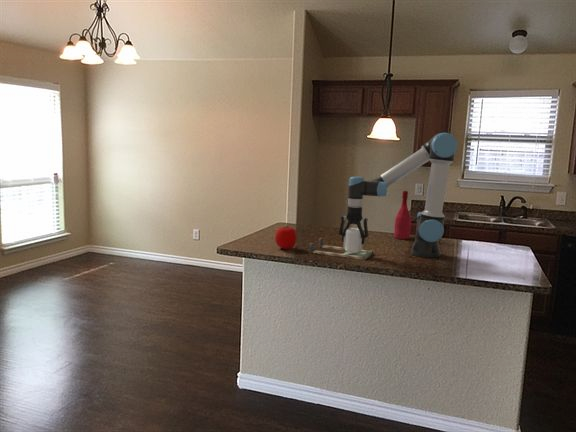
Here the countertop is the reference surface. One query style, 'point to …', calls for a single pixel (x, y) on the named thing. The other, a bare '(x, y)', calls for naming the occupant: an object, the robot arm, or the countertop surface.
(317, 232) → the countertop surface
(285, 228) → the tomato
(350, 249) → the beverage can
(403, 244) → the countertop surface
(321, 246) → the bay
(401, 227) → the wine bottle
